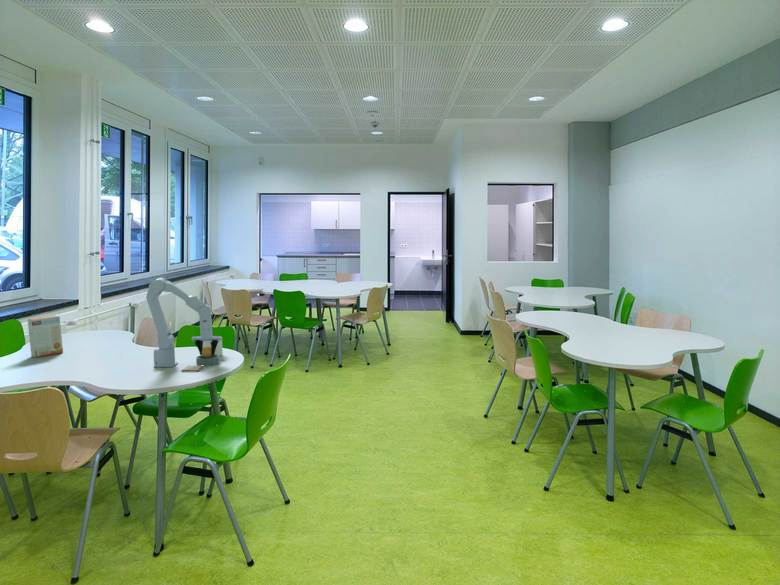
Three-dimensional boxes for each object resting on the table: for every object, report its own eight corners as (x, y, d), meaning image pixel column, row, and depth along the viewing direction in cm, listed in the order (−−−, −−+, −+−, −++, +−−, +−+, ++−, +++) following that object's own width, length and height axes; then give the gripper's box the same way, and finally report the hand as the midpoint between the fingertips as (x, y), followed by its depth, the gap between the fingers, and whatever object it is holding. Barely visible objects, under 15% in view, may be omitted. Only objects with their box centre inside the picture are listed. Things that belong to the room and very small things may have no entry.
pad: (181, 371, 256) (181, 370, 256) (188, 367, 264) (188, 365, 264) (198, 371, 256) (197, 370, 256) (204, 367, 264) (204, 365, 263)
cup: (216, 358, 282) (215, 340, 280) (199, 357, 284) (198, 339, 282) (226, 354, 291) (225, 336, 290) (209, 353, 293) (208, 335, 292)
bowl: (193, 365, 266) (193, 359, 266) (201, 360, 277) (201, 354, 276) (214, 365, 266) (214, 359, 266) (221, 360, 277) (221, 354, 276)
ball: (200, 358, 268) (199, 347, 268) (204, 355, 274) (203, 345, 273) (210, 358, 268) (210, 347, 268) (214, 355, 274) (214, 345, 273)
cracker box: (58, 351, 300) (55, 315, 297) (63, 353, 296) (60, 316, 294) (30, 356, 288) (27, 318, 286) (35, 358, 285) (32, 319, 282)
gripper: (188, 330, 266) (190, 356, 267) (217, 329, 265) (218, 356, 267) (194, 327, 273) (195, 353, 274) (222, 327, 272) (223, 353, 274)
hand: (207, 354), depth 271 cm, fingers closed on ball, 5 cm apart
